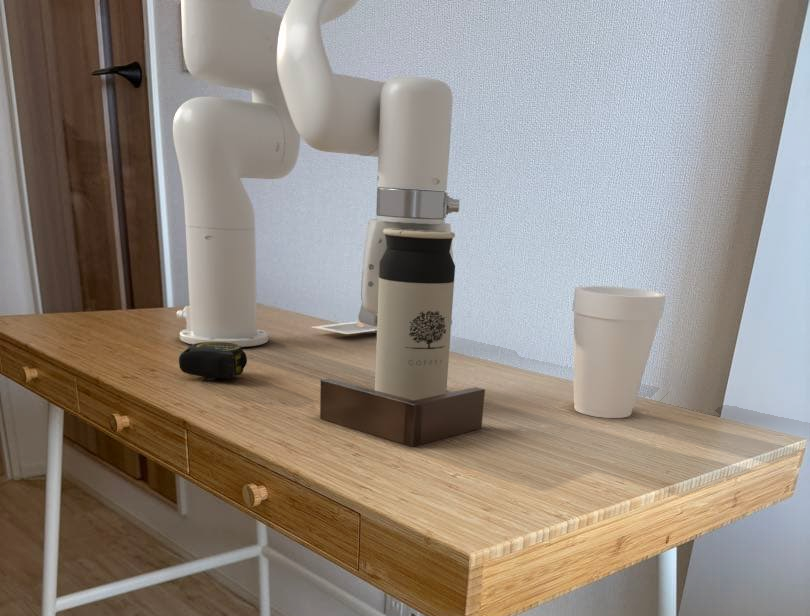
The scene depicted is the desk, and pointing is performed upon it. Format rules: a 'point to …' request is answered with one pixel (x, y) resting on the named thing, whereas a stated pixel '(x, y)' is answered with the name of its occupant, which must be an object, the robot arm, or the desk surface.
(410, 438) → the corner guard
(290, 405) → the desk surface
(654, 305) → the foam cup
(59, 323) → the desk surface
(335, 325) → the touchpad
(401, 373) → the travel mug
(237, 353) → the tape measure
